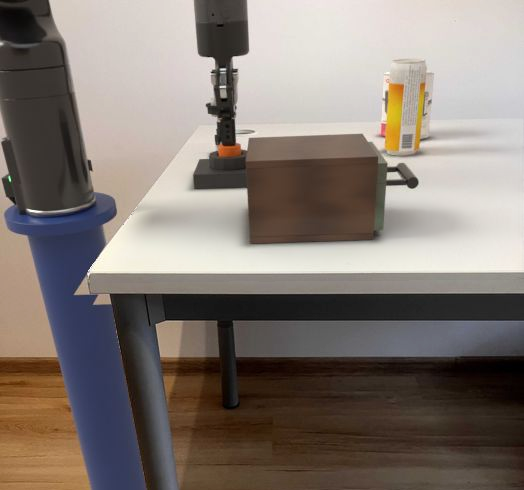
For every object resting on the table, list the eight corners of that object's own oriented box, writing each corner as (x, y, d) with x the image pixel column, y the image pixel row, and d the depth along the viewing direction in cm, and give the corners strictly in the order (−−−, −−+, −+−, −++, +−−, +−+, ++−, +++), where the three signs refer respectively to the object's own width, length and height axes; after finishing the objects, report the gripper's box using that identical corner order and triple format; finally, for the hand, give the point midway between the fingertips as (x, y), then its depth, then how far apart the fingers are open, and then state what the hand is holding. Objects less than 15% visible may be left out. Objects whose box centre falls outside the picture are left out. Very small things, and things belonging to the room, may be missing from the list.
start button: (217, 159, 92) (217, 148, 91) (219, 154, 95) (218, 143, 94) (241, 158, 92) (240, 147, 91) (241, 153, 95) (241, 142, 94)
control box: (194, 189, 91) (191, 162, 89) (200, 172, 100) (198, 147, 98) (265, 186, 91) (264, 159, 89) (265, 170, 100) (264, 145, 98)
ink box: (378, 136, 119) (382, 71, 113) (393, 132, 122) (398, 68, 116) (414, 142, 114) (420, 74, 107) (429, 137, 116) (436, 71, 110)
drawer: (400, 200, 80) (405, 140, 76) (418, 229, 70) (425, 161, 66) (268, 204, 80) (266, 145, 76) (269, 234, 70) (266, 167, 66)
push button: (243, 158, 107) (240, 99, 102) (215, 161, 106) (210, 101, 101) (234, 151, 113) (231, 94, 107) (207, 154, 111) (202, 96, 106)
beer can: (410, 147, 110) (418, 57, 102) (424, 154, 105) (434, 60, 97) (379, 150, 109) (384, 59, 101) (392, 157, 104) (399, 63, 96)
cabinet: (359, 207, 81) (362, 133, 76) (373, 239, 70) (378, 156, 65) (252, 210, 81) (248, 137, 76) (249, 243, 70) (245, 161, 65)
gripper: (199, 18, 90) (208, 137, 99) (190, 21, 78) (201, 155, 87) (248, 16, 90) (253, 135, 98) (246, 18, 78) (252, 153, 87)
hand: (229, 144), depth 93 cm, fingers closed
